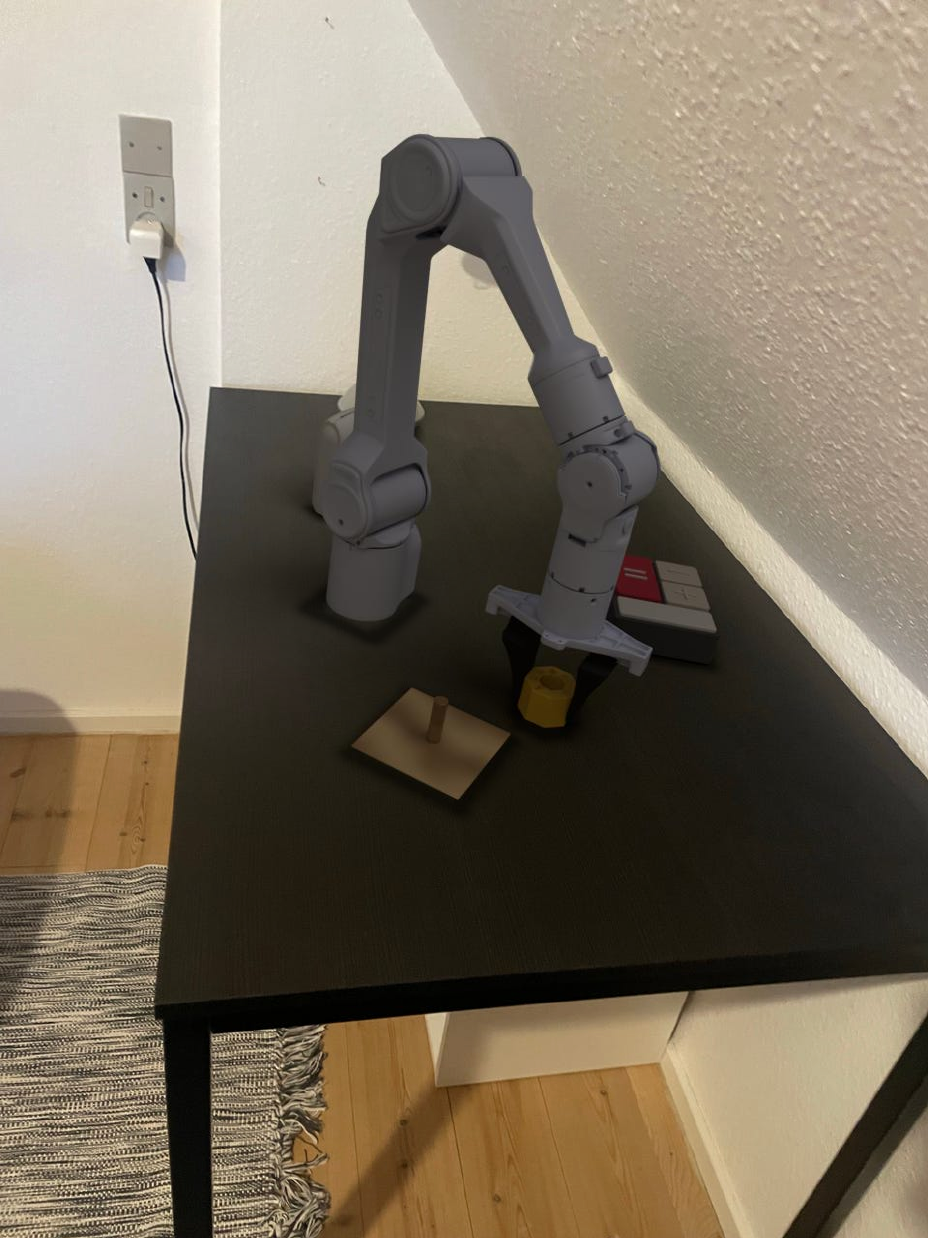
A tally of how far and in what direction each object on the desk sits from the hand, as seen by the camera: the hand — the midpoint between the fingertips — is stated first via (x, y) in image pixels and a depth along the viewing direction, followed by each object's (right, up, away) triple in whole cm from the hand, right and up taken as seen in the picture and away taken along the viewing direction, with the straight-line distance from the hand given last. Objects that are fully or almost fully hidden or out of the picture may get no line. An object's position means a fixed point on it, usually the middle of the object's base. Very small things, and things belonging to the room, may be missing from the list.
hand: (545, 704), depth 85 cm
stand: (-10, -3, -5) cm, 12 cm away
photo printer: (-21, +21, +29) cm, 41 cm away
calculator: (+13, +8, +19) cm, 24 cm away
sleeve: (0, -1, +1) cm, 1 cm away
